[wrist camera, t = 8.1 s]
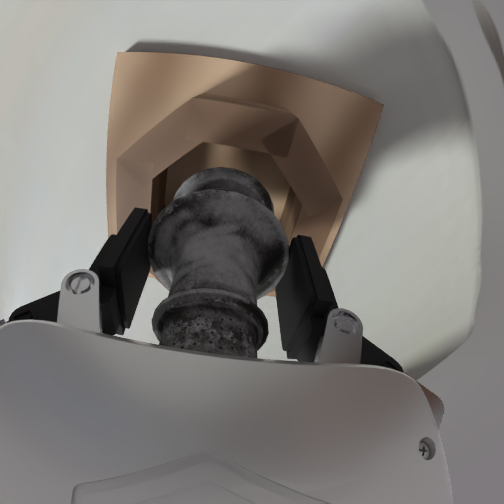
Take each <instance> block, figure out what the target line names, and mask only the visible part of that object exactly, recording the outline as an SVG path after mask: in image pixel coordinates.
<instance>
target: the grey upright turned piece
mask: <svg viewBox="0 0 504 504" xmlns="http://www.w3.org/2000/svg"><path fill="white" fill-rule="evenodd" d="M148 258H149V261H150V264H151V266H152V269H153V272H154V273H155V274H156V276H157V277H158V279H159V280H160V281H161V283H162V284H163V285H164V286H165V287H167V288H168V289H169V290H170V292H169V295H168V298H166V299H165V300H163V301H162V302H161V303H160V304H159V305H158V307H157V308H156V309H155V312H154V315H153V318H152V327H153V331H154V333H155V335H156V337H157V339H158V340H159V341H160V343H159V345H162V346H167V347H173V348H179V349H185V350H192V351H199V352H206V353H213V354H221V355H229V356H238V357H248V358H257V351H258V350H259V349H260V348H261V347H262V345H263V344H264V343H265V342H266V339H267V336H268V333H269V332H268V321H267V319H266V317H265V315H264V313H263V311H262V310H261V309H260V308H258V307H257V299H259V298H261V297H263V296H265V295H266V294H267V293H269V292H270V291H271V290H272V289H273V288H274V287H275V286H277V284H278V283H279V281H280V280H281V278H282V277H283V275H284V273H285V270H286V267H287V264H288V261H289V241H288V239H287V236H286V233H285V230H284V228H283V225H282V224H281V223H280V221H279V220H278V219H277V218H276V216H275V215H274V206H273V203H272V200H271V198H270V195H269V193H268V191H267V190H266V189H265V187H264V186H263V185H262V184H261V182H259V181H258V180H257V179H255V178H254V177H253V176H251V175H250V174H248V173H246V172H243V171H240V170H238V169H234V168H226V167H216V168H209V169H205V170H203V171H200V172H198V173H195V174H193V175H192V176H191V177H190V178H188V179H187V180H186V181H184V182H183V183H182V185H181V186H180V188H179V189H178V190H177V192H176V193H175V196H174V199H173V202H172V203H171V204H169V205H168V206H167V207H166V208H164V209H163V210H162V211H161V212H160V214H159V215H158V217H157V218H156V220H155V221H154V223H153V224H152V226H151V229H150V233H149V237H148Z"/></svg>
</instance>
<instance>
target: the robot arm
mask: <svg viewBox="0 0 504 504" xmlns="http://www.w3.org/2000/svg"><path fill="white" fill-rule="evenodd" d="M151 226H152V213H148V209H143V208H136V207H135V208H134V209H133V211H132V212H131V213H130V215H129V216H128V218H127V219H126V221H125V222H124V224H123V225H122V227H121V229H120V230H119V232H118V233H117V235H115V234H112V235H111V236H110V237H109V238H108V240H107V241H106V243H105V244H104V246H103V248H102V249H101V251H100V252H99V254H98V255H97V257H96V259H95V260H94V262H93V264H92V265H91V267H90V269H89V270H87V269H79V270H75V271H72V272H70V273H69V274H67V275H66V276H65V277H64V279H63V281H62V284H61V290H60V291H58V292H56V293H53V294H51V295H48V296H46V297H43V298H41V299H38V300H36V301H33V302H31V303H29V304H26V305H24V306H21V307H19V308H18V309H16V310H15V311H14V312H13V313H12V314H11V316H10V317H9V321H7V322H5V320H4V319H3V320H0V504H454V503H453V495H452V488H451V482H450V476H449V471H448V467H447V462H446V458H445V454H444V449H443V446H442V442H441V438H440V434H439V431H438V430H439V427H440V424H441V421H442V418H443V414H444V404H443V402H442V400H441V399H440V398H439V397H438V396H437V395H435V394H434V393H433V392H431V391H430V390H428V389H427V388H426V387H424V386H423V385H421V384H420V383H418V382H417V381H416V380H414V379H413V378H412V377H410V376H408V375H406V374H404V372H403V369H402V367H401V366H400V364H399V363H398V362H397V361H396V360H394V359H393V358H392V357H390V356H389V355H388V354H386V353H385V352H384V351H382V350H381V349H379V348H378V347H377V346H375V345H374V344H373V343H371V342H370V341H369V340H367V339H366V338H365V337H363V336H362V334H363V326H362V323H361V321H360V319H359V318H358V317H357V316H356V315H355V314H354V313H353V312H351V311H349V310H346V309H342V308H338V305H337V302H336V299H335V296H334V293H333V290H332V287H331V284H330V281H329V278H328V276H327V273H326V270H325V269H324V268H322V266H321V263H320V260H319V257H318V254H317V252H316V249H315V246H314V243H313V240H312V238H311V237H309V236H304V235H298V236H297V237H293V238H292V240H291V243H290V246H289V261H288V264H287V267H286V270H285V273H284V275H283V277H282V278H281V280H280V281H279V283H278V284H277V286H276V287H275V292H276V300H277V308H278V316H279V324H280V333H281V341H282V348H283V350H284V351H287V358H288V359H297V360H298V361H299V362H298V361H283V360H270V359H258V358H248V357H238V356H229V355H221V354H213V353H206V352H199V351H192V350H185V349H179V348H173V347H167V346H162V345H156V344H151V343H145V342H140V341H135V340H130V339H126V338H121V337H117V336H112V335H115V334H119V335H123V334H124V331H125V328H128V329H129V328H130V326H131V323H132V320H133V317H134V314H135V311H136V308H137V305H138V302H139V299H140V296H141V294H142V291H143V288H144V285H145V283H146V280H147V277H148V275H149V272H150V268H151V264H150V261H149V258H148V237H149V233H150V229H151Z"/></svg>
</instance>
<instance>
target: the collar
mask: <svg viewBox="0 0 504 504" xmlns="http://www.w3.org/2000/svg"><path fill="white" fill-rule="evenodd" d="M383 106H384V105H383V104H381V103H379V102H376V101H374V100H371V99H369V98H366V97H364V96H361V95H359V94H356V93H353V92H351V91H348V90H345V89H342V88H340V87H337V86H334V85H331V84H328V83H325V82H321V81H318V80H315V79H312V78H308V77H305V76H301V75H298V74H294V73H290V72H286V71H282V70H278V69H274V68H270V67H265V66H260V65H256V64H251V63H245V62H240V61H234V60H228V59H221V58H214V57H206V56H198V55H188V54H175V53H157V52H117V57H116V63H115V70H114V76H113V84H112V92H111V100H110V111H109V123H108V138H107V168H106V190H107V220H108V236H109V237H110V236H111V235H112V234H115V235H117V233H118V232H119V230H120V229H121V227H122V225H123V224H124V222H125V221H126V219H127V218H128V216H129V215H130V213H131V212H132V211H133V209H134V208H135V207H136V208H143V209H148V213H152V224H153V223H154V221H155V220H156V218H157V217H158V215H159V214H160V212H161V211H162V210H163V209H164V208H166V207H167V206H168V205H169V204H171V203H172V202H173V199H174V196H175V193H176V192H177V190H178V189H179V188H180V186H181V185H182V183H183V182H184V181H186V180H187V179H188V178H190V177H191V176H192V175H193V174H195V173H198V172H200V171H203V170H205V169H209V168H216V167H226V168H234V169H238V170H240V171H243V172H246V173H248V174H250V175H251V176H253V177H254V178H255V179H257V180H258V181H259V182H261V184H262V185H263V186H264V187H265V189H266V190H267V191H268V193H269V195H270V198H271V200H272V203H273V206H274V215H275V216H276V218H277V219H278V220H279V221H280V223H281V224H282V225H283V228H284V230H285V233H286V236H287V239H288V241H289V246H290V243H291V240H292V238H293V237H297V236H298V235H304V236H309V237H311V238H312V240H313V243H314V246H315V249H316V252H317V254H318V257H319V260H320V263H321V266H322V267H323V265H324V262H325V260H326V258H327V255H328V253H329V251H330V248H331V246H332V244H333V241H334V239H335V237H336V234H337V232H338V230H339V227H340V225H341V222H342V220H343V217H344V215H345V212H346V210H347V207H348V205H349V202H350V200H351V197H352V195H353V192H354V189H355V187H356V184H357V181H358V179H359V176H360V173H361V171H362V168H363V165H364V162H365V160H366V157H367V154H368V151H369V148H370V145H371V142H372V139H373V137H374V134H375V131H376V128H377V124H378V121H379V118H380V115H381V112H382V109H383ZM148 277H152V278H156V279H157V280H158V281H159V282H160V283H161V281H160V280H159V279H158V277H157V276H156V274H155V273H154V272H153V269H152V266H151V268H150V272H149V275H148ZM161 284H162V283H161ZM162 285H163V284H162ZM163 286H164V285H163ZM164 287H165V286H164ZM275 287H276V286H275ZM275 287H274V288H273V289H272V290H271V291H270V292H269V293H267V294H266V295H267V296H274V297H276V292H275ZM165 288H166V289H168V288H167V287H165ZM168 290H169V289H168ZM169 291H170V290H169Z"/></svg>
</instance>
